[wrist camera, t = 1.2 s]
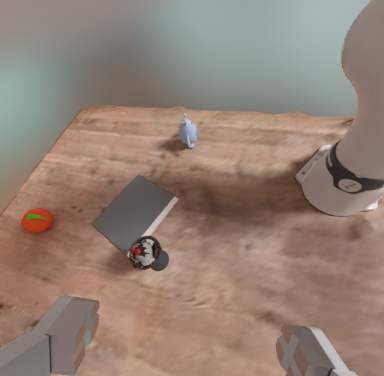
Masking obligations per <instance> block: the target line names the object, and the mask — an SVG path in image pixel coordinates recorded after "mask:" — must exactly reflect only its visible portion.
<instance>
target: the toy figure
mask: <svg viewBox="0 0 384 376" xmlns="http://www.w3.org/2000/svg"><path fill="white" fill-rule="evenodd" d="M184 117H185V118H184V120H183V121H182V122H181V124H180V128H179V137H180V139H181V141H182V142H184V143H185V144H187V145H188V147H189V148H193V147H194V144H193V143H194V142H195V141H196V139H197V138H198V130H197V128H196V127H195V125H194V124H193V123H192V122H191V121H190V120H189V119H186V114H185V113H184Z"/></svg>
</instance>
